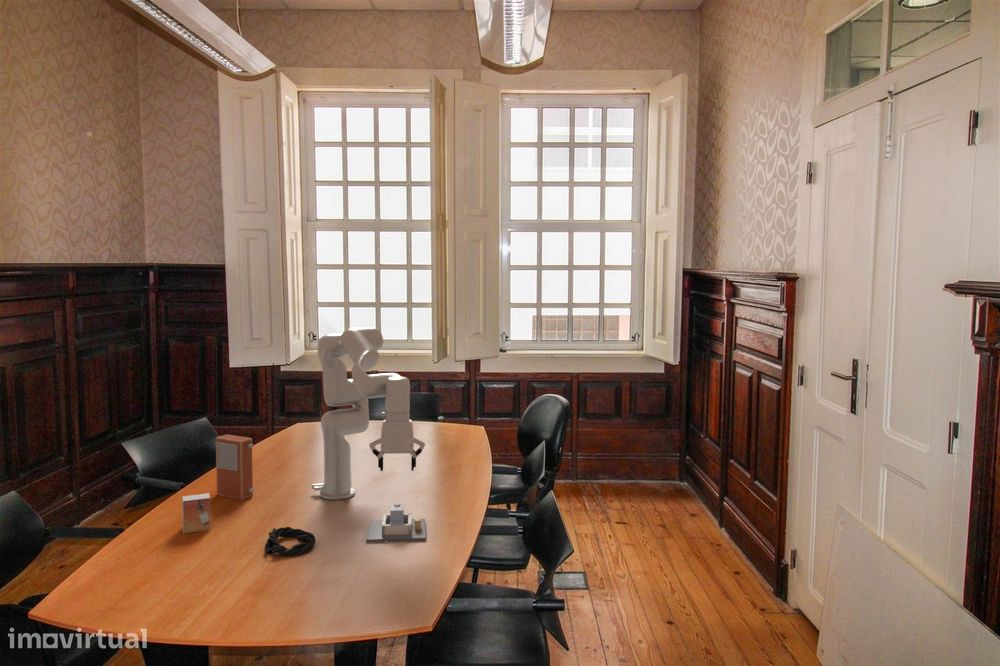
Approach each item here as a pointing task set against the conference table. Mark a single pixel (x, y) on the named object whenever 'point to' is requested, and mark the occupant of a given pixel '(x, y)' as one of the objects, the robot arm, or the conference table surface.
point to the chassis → (397, 530)
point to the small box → (196, 513)
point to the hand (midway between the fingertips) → (397, 469)
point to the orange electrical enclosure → (234, 466)
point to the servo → (396, 514)
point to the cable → (295, 549)
